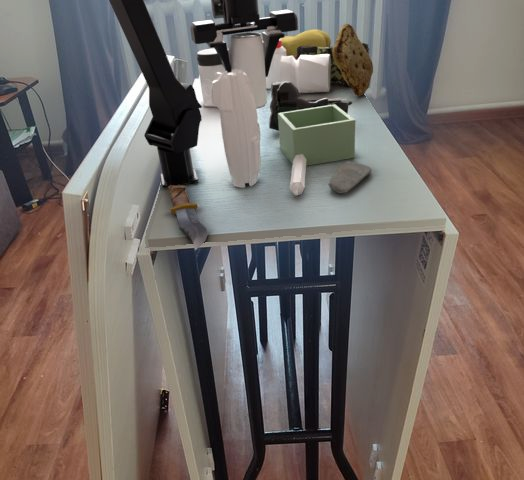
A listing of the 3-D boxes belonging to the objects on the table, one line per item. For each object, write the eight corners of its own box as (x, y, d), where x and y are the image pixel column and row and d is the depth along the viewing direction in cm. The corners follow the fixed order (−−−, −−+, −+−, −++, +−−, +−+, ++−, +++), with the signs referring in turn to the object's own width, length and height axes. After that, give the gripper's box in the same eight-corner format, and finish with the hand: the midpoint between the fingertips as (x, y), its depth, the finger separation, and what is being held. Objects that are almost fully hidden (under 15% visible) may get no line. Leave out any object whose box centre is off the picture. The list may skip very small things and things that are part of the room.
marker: (295, 205, 87) (298, 168, 99) (306, 199, 86) (308, 162, 98) (286, 193, 86) (290, 156, 98) (297, 186, 85) (300, 150, 97)
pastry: (372, 102, 139) (382, 98, 137) (335, 92, 126) (346, 87, 124) (362, 33, 137) (372, 28, 135) (324, 15, 124) (335, 9, 122)
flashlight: (228, 193, 92) (269, 185, 93) (212, 80, 81) (259, 72, 82) (220, 180, 97) (259, 172, 98) (204, 72, 86) (248, 64, 87)
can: (263, 109, 101) (259, 36, 93) (230, 110, 102) (223, 38, 95) (269, 101, 106) (265, 31, 98) (238, 102, 107) (231, 33, 100)
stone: (348, 157, 95) (375, 164, 93) (347, 165, 96) (373, 172, 95) (323, 182, 87) (352, 190, 86) (322, 190, 88) (350, 198, 87)
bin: (354, 157, 100) (355, 119, 96) (294, 167, 99) (292, 129, 94) (335, 139, 109) (335, 104, 105) (280, 148, 108) (277, 113, 103)
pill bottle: (256, 85, 151) (252, 41, 144) (280, 80, 153) (277, 36, 146) (267, 90, 145) (264, 44, 138) (293, 85, 147) (290, 39, 140)
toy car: (295, 88, 143) (301, 80, 151) (366, 85, 139) (369, 78, 146) (294, 48, 137) (300, 42, 145) (368, 44, 133) (371, 38, 141)
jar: (196, 106, 139) (188, 54, 131) (213, 97, 144) (207, 47, 137) (225, 108, 135) (218, 54, 127) (242, 99, 140) (236, 47, 133)
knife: (211, 243, 76) (176, 249, 75) (212, 252, 77) (178, 258, 76) (193, 178, 94) (165, 183, 94) (195, 186, 95) (167, 191, 95)
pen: (347, 102, 129) (347, 100, 128) (270, 107, 133) (269, 104, 132) (347, 99, 129) (347, 96, 128) (270, 103, 133) (269, 101, 132)
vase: (328, 99, 136) (281, 100, 139) (331, 81, 141) (286, 82, 144) (327, 64, 129) (278, 66, 132) (330, 46, 134) (283, 49, 137)
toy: (237, 79, 172) (319, 69, 155) (230, 47, 166) (314, 33, 150) (260, 67, 180) (340, 57, 164) (254, 36, 175) (336, 22, 158)
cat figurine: (263, 132, 125) (338, 137, 127) (269, 130, 112) (352, 136, 114) (265, 85, 122) (342, 91, 124) (272, 78, 109) (358, 85, 111)
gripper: (280, -30, 99) (285, 64, 108) (180, -17, 96) (194, 77, 106) (296, -27, 90) (300, 75, 100) (187, -13, 88) (202, 90, 97)
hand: (248, 79), depth 101 cm, fingers closed on can, 6 cm apart
